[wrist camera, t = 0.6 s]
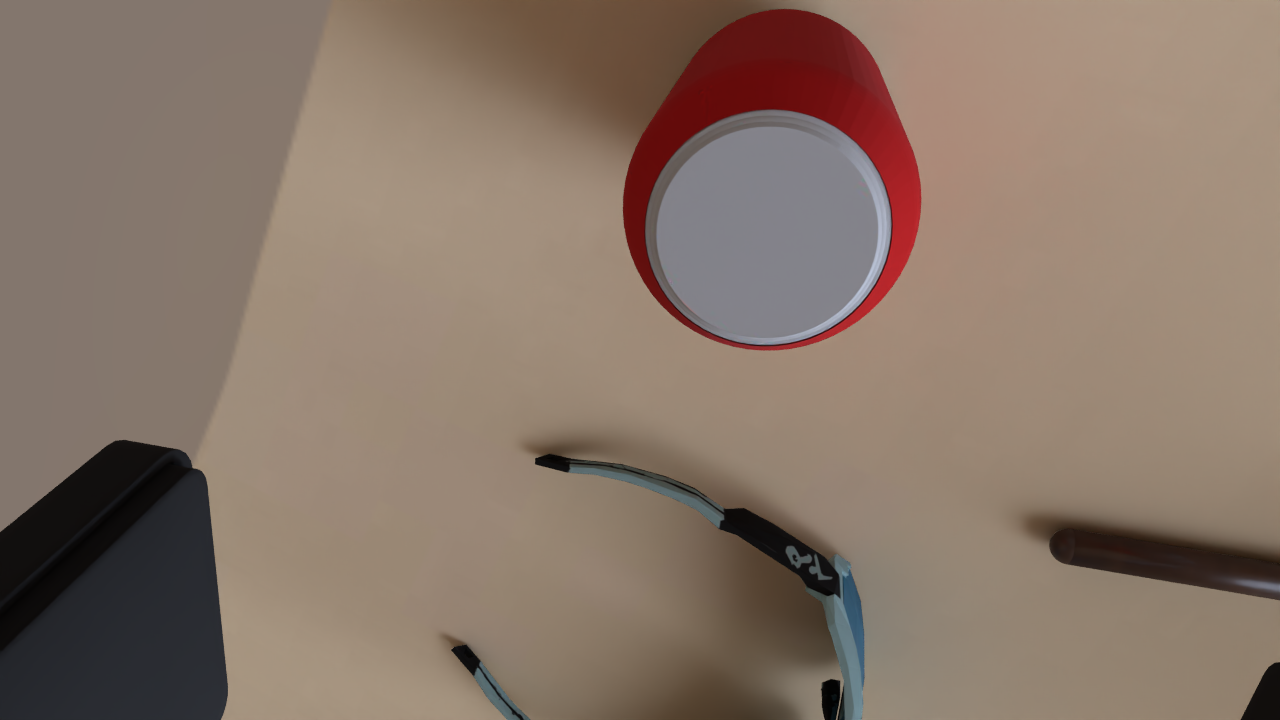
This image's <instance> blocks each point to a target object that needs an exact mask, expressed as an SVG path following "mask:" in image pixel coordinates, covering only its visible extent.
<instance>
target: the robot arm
mask: <svg viewBox="0 0 1280 720" xmlns="http://www.w3.org/2000/svg"><path fill="white" fill-rule="evenodd" d="M227 696H228V683H227V674H226V664H225V654H224V644H223V634H222V624H221V614H220V605H219V595H218V585H217V575H216V565H215V555H214V546H213V536H212V526H211V516H210V506H209V496H208V487H207V481H206V477H205V475H204V474H203V472H202V471H200V470H198V469H193V468H192V464H191V460H190V459H189V457H188V456H187V454H186V453H184V452H182V451H181V450H178V449H173V448H167V447H161V446H155V445H150V444H144V443H139V442H132V441H127V440H119V441H114V442H113V443H111V444H109V445H108V446H106V447H105V448H104V449H102V450H101V451H100V452H99V453H97V454H96V455H95V456H94V457H92V458H91V459H90V460H89V461H87V462H86V463H85V464H84V465H83V466H81V467H80V468H79V469H78V470H76V471H75V472H74V473H73V474H71V475H70V476H69V477H68V478H66V479H65V480H64V481H63V482H62V483H60V484H59V485H58V486H57V487H55V488H54V489H53V490H52V491H51V492H49V493H48V494H47V495H46V496H44V497H43V498H42V499H41V500H39V501H38V502H37V503H36V504H35V505H33V506H32V507H31V508H30V509H28V510H27V511H26V512H25V513H23V514H22V515H21V516H20V517H18V518H17V519H16V520H15V521H14V522H13V523H11V524H10V525H9V526H7V527H6V528H5V529H4V530H2V531H1V532H0V720H221V718H222V716H223V713H224V710H225V706H226V702H227ZM1241 720H1280V662H1278V663H1274V664H1272V665H1271V666H1269V667H1268V669H1267V670H1266V672H1265V673H1264V675H1263V677H1262V679H1261V681H1260V683H1259V685H1258V687H1257V689H1256V691H1255V693H1254V694H1253V696H1252V698H1251V700H1250V702H1249V704H1248V706H1247V708H1246V710H1245V712H1244V714H1243V716H1242V718H1241Z"/></svg>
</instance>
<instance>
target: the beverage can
mask: <svg viewBox="0 0 1280 720" xmlns="http://www.w3.org/2000/svg"><path fill="white" fill-rule="evenodd" d="M920 213H921V185H920V178H919V172H918V166H917V163H916V159H915V156H914V153H913V150H912V147H911V145H910V143H909V140H908V138H907V135H906V133H905V130H904V128H903V126H902V123H901V121H900V118H899V116H898V114H897V111H896V109H895V106H894V104H893V101H892V99H891V97H890V94H889V92H888V89H887V87H886V85H885V82H884V80H883V77H882V75H881V73H880V70H879V68H878V66H877V64H876V62H875V60H874V58H873V57H872V55H871V54H870V52H869V51H868V50H867V48H866V47H865V46H864V45H863V44H862V43H861V41H860V40H859V39H858V38H857V37H856V36H854V35H853V34H852V33H851V32H850V31H849V30H847V29H846V28H844V27H843V26H841V25H840V24H838V23H836V22H834V21H833V20H831V19H829V18H826V17H824V16H821V15H819V14H815V13H811V12H808V11H801V10H793V9H778V10H768V11H763V12H758V13H755V14H751V15H748V16H746V17H743V18H741V19H738V20H736V21H735V22H733V23H731V24H729V25H727V26H726V27H724V28H723V29H721V30H720V31H718V32H717V33H716V34H715V35H713V36H712V37H711V38H710V39H709V40H708V41H707V42H706V43H705V44H704V45H703V46H702V47H701V48H700V49H699V51H698V52H697V53H696V54H695V56H694V57H693V58H692V60H691V61H690V63H689V64H688V66H687V67H686V69H685V70H684V72H683V73H682V75H681V76H680V78H679V79H678V81H677V83H676V84H675V86H674V87H673V89H672V90H671V92H670V93H669V95H668V96H667V98H666V99H665V101H664V102H663V104H662V105H661V107H660V108H659V110H658V111H657V113H656V114H655V116H654V117H653V119H652V120H651V122H650V123H649V125H648V127H647V128H646V130H645V131H644V133H643V134H642V136H641V138H640V140H639V142H638V144H637V146H636V148H635V151H634V153H633V156H632V159H631V162H630V164H629V168H628V172H627V176H626V181H625V188H624V196H623V218H624V228H625V233H626V239H627V243H628V246H629V250H630V253H631V256H632V259H633V261H634V264H635V266H636V268H637V270H638V272H639V274H640V276H641V278H642V280H643V282H644V283H645V285H646V286H647V288H648V289H649V290H650V292H651V293H652V295H653V296H654V297H655V298H656V299H657V301H658V302H659V303H660V304H661V305H662V306H663V307H664V308H665V309H666V310H667V311H668V312H669V313H670V314H671V315H672V316H674V317H675V318H676V319H677V320H679V321H680V322H681V323H682V324H684V325H685V326H687V327H689V328H690V329H692V330H693V331H695V332H697V333H699V334H701V335H703V336H705V337H707V338H709V339H712V340H714V341H717V342H719V343H723V344H726V345H730V346H733V347H739V348H744V349H751V350H784V349H792V348H797V347H802V346H806V345H809V344H813V343H816V342H819V341H822V340H824V339H827V338H829V337H831V336H834V335H835V334H837V333H839V332H841V331H843V330H845V329H847V328H848V327H850V326H851V325H853V324H854V323H856V322H857V321H859V320H860V319H861V318H862V317H864V316H865V315H866V314H867V313H869V312H870V311H871V310H872V309H873V308H874V307H875V306H876V305H877V304H878V303H879V302H880V301H881V300H882V299H883V298H884V296H885V295H886V294H887V293H888V291H889V290H890V289H891V288H892V286H893V285H894V283H895V282H896V280H897V279H898V277H899V276H900V274H901V272H902V270H903V268H904V267H905V265H906V263H907V261H908V258H909V256H910V253H911V251H912V248H913V246H914V242H915V239H916V235H917V232H918V226H919V220H920Z"/></svg>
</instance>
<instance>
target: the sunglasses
mask: <svg viewBox="0 0 1280 720" xmlns="http://www.w3.org/2000/svg"><path fill="white" fill-rule="evenodd" d="M535 464H536V465H540V466H544V467H548V468H552V469H555V470H559V471H563V472H570V473H581V474H594V475H599V476H603V477H608V478H612V479H616V480H621V481H625V482H629V483H632V484H635V485H638V486H641V487H645V488H647V489H650V490H652V491H655V492H658V493H660V494H663V495H666V496H668V497H671V498H673V499H675V500H677V501H679V502H682V503H684V504H686V505H688V506H690V507H691V508H694V509H696V510H697V511H699V512H700V513H701V514H702V515H704V516H705V517H706V518H707V519H708V520H710V521H711V522H712V523H713V524H714V525H715V526H716V527H717V528H718V529H720V530H723V531H726V532H729V533H732V534H735V535H738V536H739V537H741V538H742V539H744V540H745V541H747V542H748V543H750V544H751V545H753V546H754V547H756V548H757V549H759V550H761V551H762V552H764V553H765V554H767V555H768V556H770V557H771V558H773V559H774V560H776V561H777V562H779V563H780V564H782V565H784V566H785V567H787V568H788V569H790V570H791V571H793V572H794V573H796V574H797V575H799V576H800V577H801V579H802V580H803V582H804V583H805V585H806V589H805V591H806V592H808V593H809V594H811V595H812V596H814V597H815V598H816V599H818V600H819V601H821V602H822V603H823V606H824V611H825V615H826V620H827V624H828V628H829V631H830V633H831V636H832V640H833V643H834V647H835V650H836V654H837V658H838V661H839V665H840V668H841V672H842V675H843V679H844V687H843V692H842V698H841V703H840V709H839V714H838V719H837V720H861V719H862V710H863V694H862V691H863V684H864V629H863V619H862V609H861V600H860V597H859V595H858V592H857V589H856V586H855V583H854V580H853V577H852V574H851V571H850V568H851V564H850V563H849V562H848V561H846V560H845V559H843V558H842V557H840V556H839V555H837V554H835V555H834V556H833V557H831V558H830V559H829V560H827V559H826V558H825V557H824V556H822V555H821V554H819V553H818V552H816V551H815V550H813V549H812V548H810V547H808V546H807V545H805V544H804V543H802V542H801V541H799V540H798V539H796V538H795V537H793V536H791V535H790V534H788V533H787V532H785V531H784V530H782V529H781V528H779V527H777V526H776V525H774V524H772V523H771V522H769V521H767V520H765V519H763V518H761V517H760V516H758V515H756V514H754V513H752V512H750V511H748V510H747V509H745V508H736V509H725V508H723V507H721V506H720V505H718V504H717V503H716V502H714V501H713V500H711V499H710V498H708V497H707V496H705V495H704V494H702V493H701V492H699V491H698V490H697V489H695V488H693V487H691V486H688V485H686V484H683V483H681V482H678V481H676V480H673V479H671V478H668V477H666V476H663V475H659V474H655V473H652V472H648V471H645V470H641V469H638V468H634V467H630V466H627V465H623V464H616V463H607V462H597V461H588V460H578V459H571V458H566V457H562V456H557V455H553V454H547V455H544V456H541V457H538V458H535ZM451 651H452V652H453V653H454V654H455V655H456V656H457V657H458V659H459V660H460V661H461V662H462V663H463V664H464V666H465V667H466V668H467V669H468V670H469V671H470V672H471V674H472V675H473V676H474V678H475V679H476V681H477V682H478V684H479V685H480V687H481V688H482V690H483V692H484V693H485V695H486V696H487V698H488V699H489V700H490V701H491V702H492V703H493V705H494V706H495V707H496V708H497V709H498V710H499V711H500V712H501V713H502V714H503V715H504V717H505V718H506V719H507V720H530V719H529V718H528V717H527V716H526V715H525V714H524V713H523V712H522V711H521V710H520V709H519V708H518V707H517V706H516V705H515V704H514V703H513V702H512V701H511V700H510V699H509V697H508V696H507V695H506V693H505V692H504V691H503V690H502V688H501V687H500V686H499V684H498V683H497V682H496V680H495V679H494V678H493V677H492V675H491V674H490V673H489V671H488V670H487V669H486V668H485V666H484V665H483V664H482V662H481V661H480V660H479V659H478V658H477V656H476V655H475V654H474V653H473V652H472V651H471V650H470V648H469V647H468V646H467V645H462V646H456V647H454V648H453V649H452V650H451ZM821 690H822V708H823V714H824V719H825V720H836V716H837V711H838V706H839V700H840V681H838V680H833V679H830V680H828V681H825V682H823V683H822V689H821Z"/></svg>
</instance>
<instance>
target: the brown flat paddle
mask: <svg viewBox="0 0 1280 720" xmlns="http://www.w3.org/2000/svg"><path fill="white" fill-rule="evenodd" d="M1049 547H1050V551H1051V553H1052V555H1053V556H1054V558H1055V559H1056V560H1058V561H1059V562H1061V563H1064V564H1068V565H1074V566H1080V567H1086V568H1092V569H1098V570H1104V571H1110V572H1116V573H1122V574H1128V575H1133V576H1139V577H1145V578H1151V579H1157V580H1163V581H1169V582H1175V583H1181V584H1187V585H1193V586H1198V587H1204V588H1210V589H1216V590H1222V591H1228V592H1234V593H1240V594H1246V595H1252V596H1258V597H1263V598H1269V599H1275V600H1280V564H1279V563H1273V562H1267V561H1261V560H1255V559H1249V558H1243V557H1237V556H1231V555H1225V554H1219V553H1213V552H1207V551H1201V550H1195V549H1189V548H1183V547H1177V546H1171V545H1165V544H1159V543H1152V542H1146V541H1140V540H1134V539H1128V538H1122V537H1116V536H1110V535H1104V534H1098V533H1092V532H1086V531H1080V530H1074V529H1062V530H1059V531H1057V532H1056V533H1055V534H1054V535H1053V536H1052V537H1051V539H1050V544H1049Z"/></svg>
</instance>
